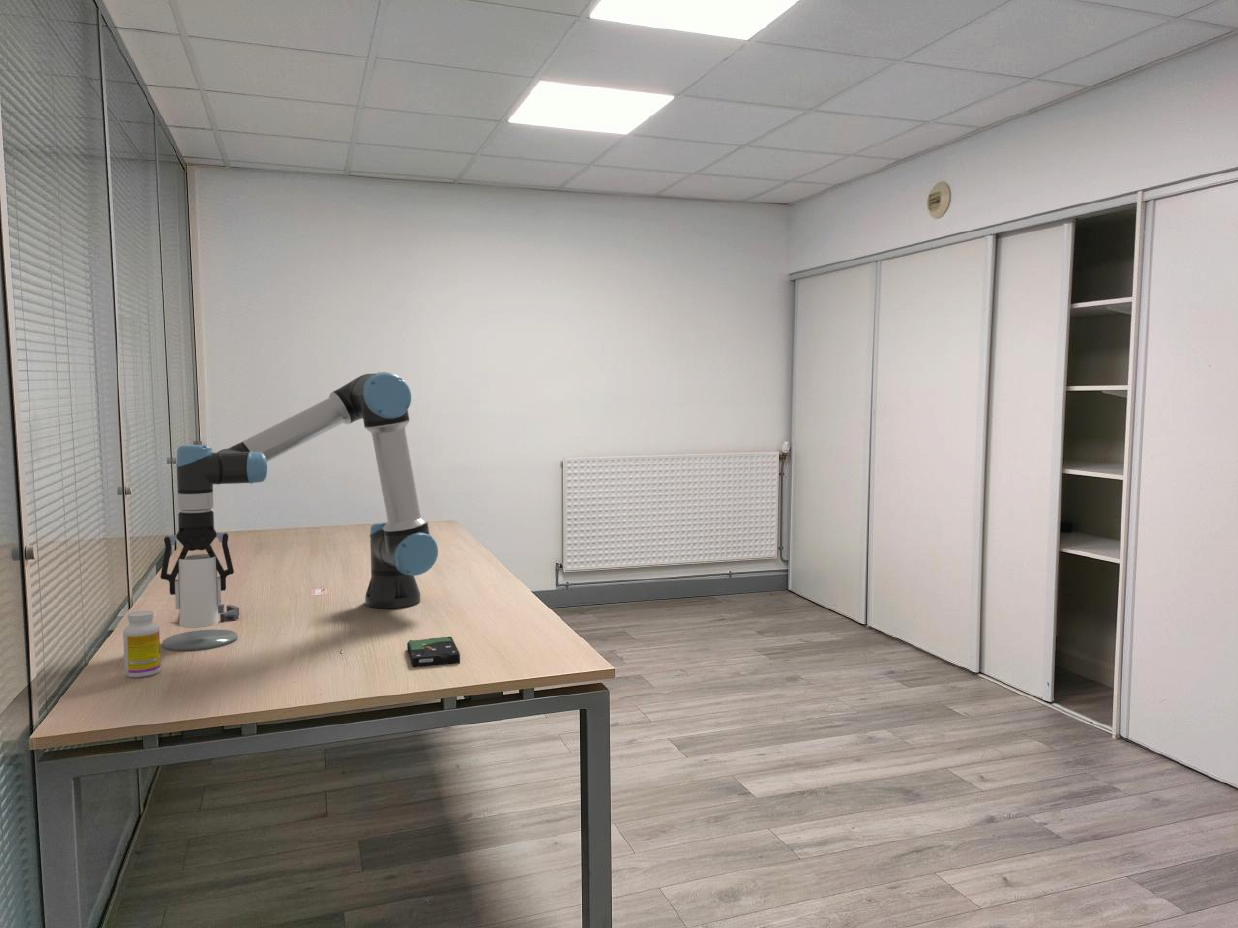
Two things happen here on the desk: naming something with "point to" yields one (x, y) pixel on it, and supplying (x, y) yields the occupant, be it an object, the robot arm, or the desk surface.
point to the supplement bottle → (141, 645)
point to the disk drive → (433, 652)
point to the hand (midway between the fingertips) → (198, 606)
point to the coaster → (199, 640)
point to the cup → (198, 591)
